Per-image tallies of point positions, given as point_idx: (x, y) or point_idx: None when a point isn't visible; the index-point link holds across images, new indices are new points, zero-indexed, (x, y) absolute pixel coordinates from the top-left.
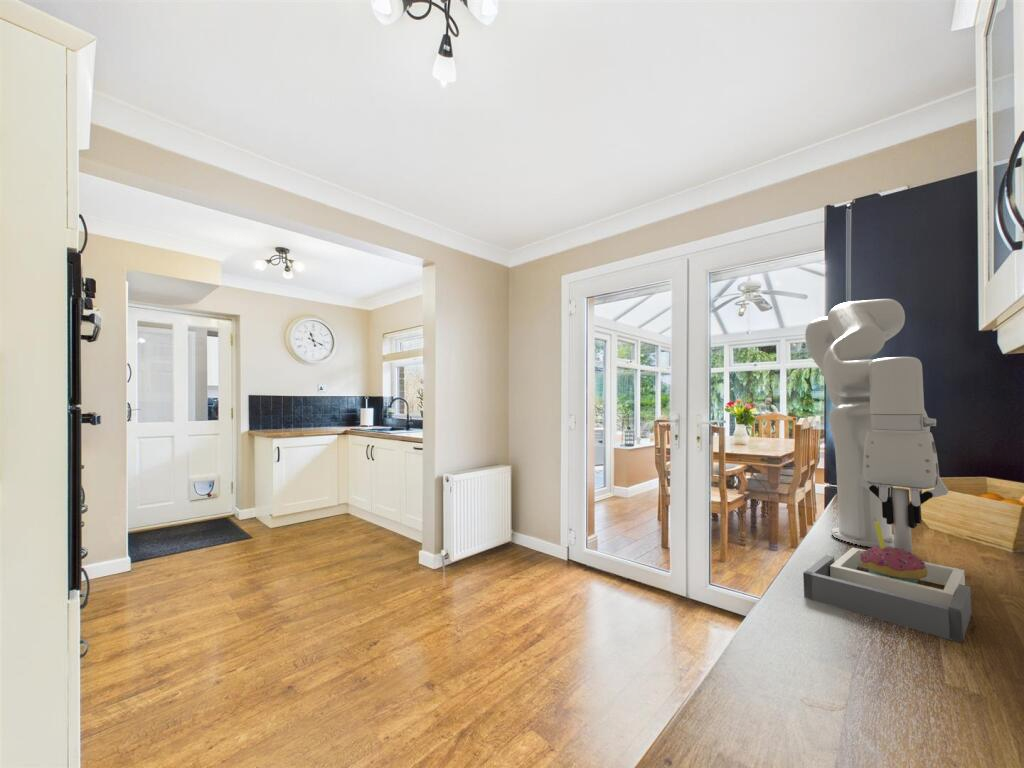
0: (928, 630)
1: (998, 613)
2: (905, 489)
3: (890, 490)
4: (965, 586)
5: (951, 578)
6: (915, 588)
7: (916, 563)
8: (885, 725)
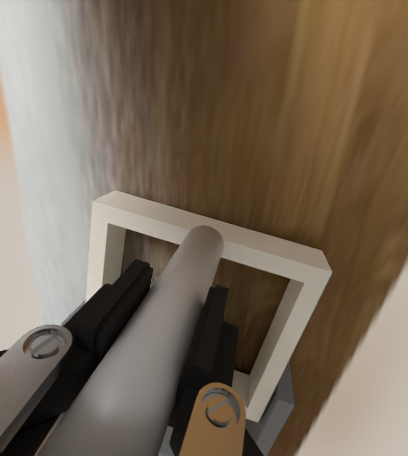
0: None
1: (335, 344)
2: None
3: (30, 403)
4: (285, 408)
5: (279, 347)
6: None
7: None
8: None
